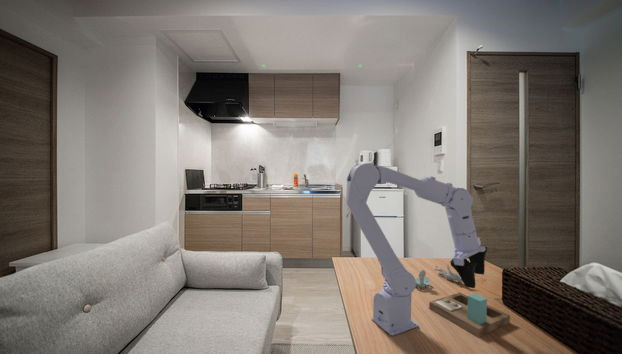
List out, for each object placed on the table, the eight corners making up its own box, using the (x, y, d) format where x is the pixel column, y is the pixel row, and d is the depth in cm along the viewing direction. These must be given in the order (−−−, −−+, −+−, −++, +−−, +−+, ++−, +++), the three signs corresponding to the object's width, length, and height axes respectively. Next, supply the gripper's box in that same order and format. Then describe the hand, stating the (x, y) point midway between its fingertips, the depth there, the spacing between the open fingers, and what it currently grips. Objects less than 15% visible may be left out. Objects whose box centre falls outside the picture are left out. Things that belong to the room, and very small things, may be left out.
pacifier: (405, 285, 89) (421, 291, 84) (405, 268, 89) (421, 273, 84) (417, 280, 93) (432, 286, 88) (416, 263, 93) (432, 268, 88)
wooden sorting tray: (478, 337, 60) (478, 327, 60) (429, 308, 73) (429, 300, 73) (509, 322, 67) (510, 313, 67) (459, 298, 79) (459, 291, 79)
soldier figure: (445, 275, 100) (474, 277, 90) (441, 285, 98) (471, 288, 87) (433, 262, 99) (460, 263, 89) (428, 272, 97) (456, 274, 87)
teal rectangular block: (479, 324, 62) (479, 301, 62) (467, 318, 65) (467, 295, 65) (486, 321, 64) (486, 298, 63) (474, 315, 66) (474, 293, 66)
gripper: (470, 241, 58) (484, 297, 58) (488, 222, 67) (500, 270, 67) (440, 240, 63) (452, 290, 64) (460, 222, 73) (471, 266, 73)
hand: (475, 280), depth 66 cm, fingers open, 7 cm apart
